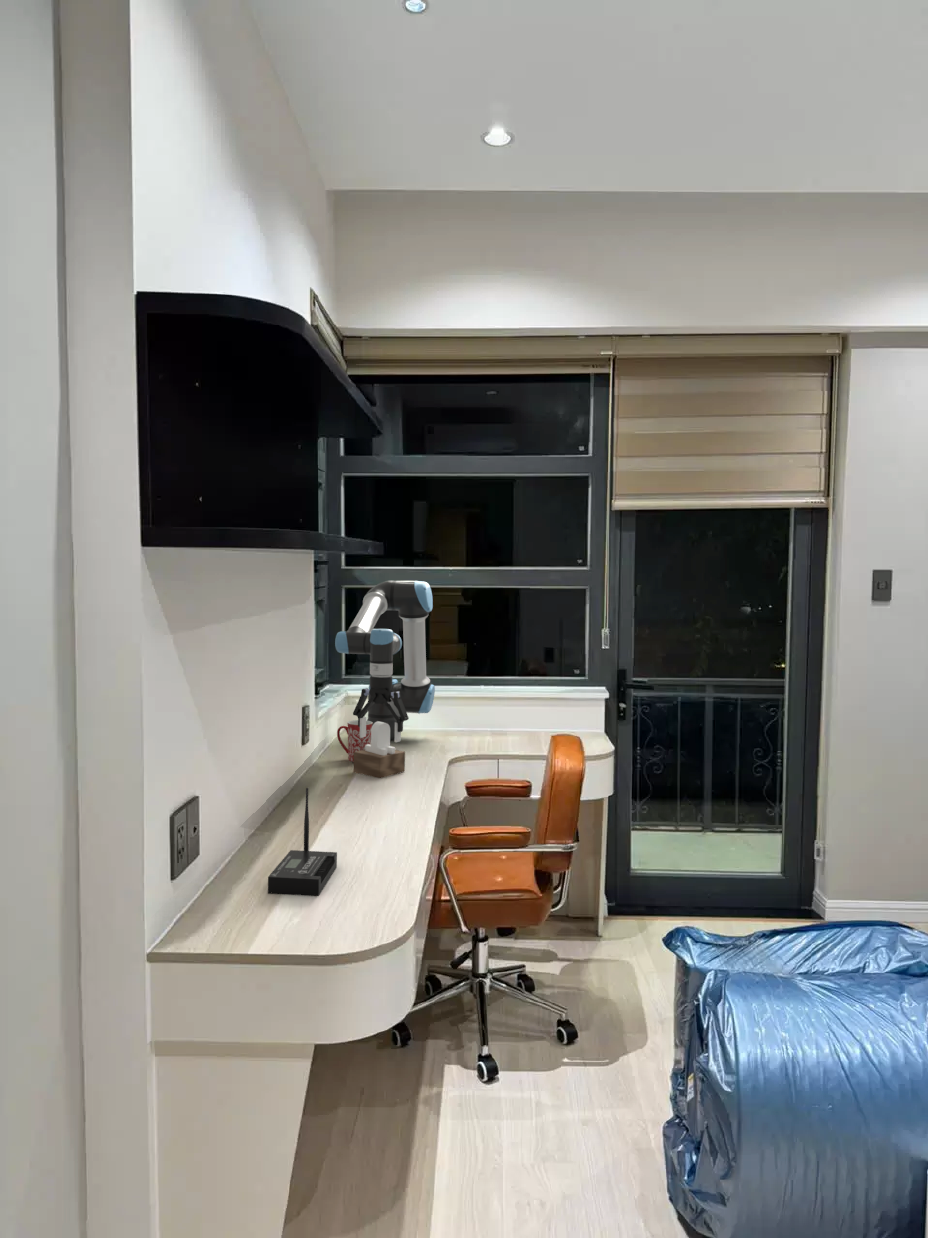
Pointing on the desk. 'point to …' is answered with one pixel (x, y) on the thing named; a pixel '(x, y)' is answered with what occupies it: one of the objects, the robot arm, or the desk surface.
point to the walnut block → (378, 763)
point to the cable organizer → (380, 739)
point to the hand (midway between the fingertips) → (379, 739)
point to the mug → (355, 738)
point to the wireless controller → (303, 869)
